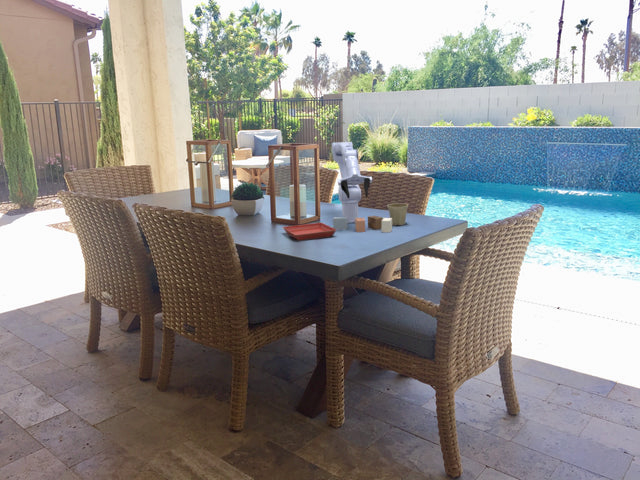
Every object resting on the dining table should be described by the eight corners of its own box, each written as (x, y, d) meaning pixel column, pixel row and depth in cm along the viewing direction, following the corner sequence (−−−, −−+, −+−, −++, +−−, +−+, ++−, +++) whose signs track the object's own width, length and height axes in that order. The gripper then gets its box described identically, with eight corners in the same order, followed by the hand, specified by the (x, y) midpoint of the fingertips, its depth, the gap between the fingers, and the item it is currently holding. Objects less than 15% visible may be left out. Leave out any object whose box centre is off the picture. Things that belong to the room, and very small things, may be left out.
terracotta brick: (355, 229, 228) (355, 218, 227) (363, 228, 229) (363, 217, 227) (357, 232, 223) (356, 220, 221) (365, 231, 223) (365, 220, 222)
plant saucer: (282, 234, 226) (282, 226, 225) (321, 229, 232) (321, 221, 231) (295, 243, 210) (295, 234, 209) (337, 237, 216) (337, 229, 215)
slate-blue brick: (333, 229, 229) (333, 218, 228) (334, 228, 232) (333, 217, 231) (347, 229, 228) (346, 218, 227) (347, 228, 231) (347, 216, 230)
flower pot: (384, 225, 233) (383, 206, 231) (391, 221, 241) (391, 202, 239) (404, 227, 229) (404, 207, 227) (411, 222, 237) (411, 203, 235)
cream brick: (384, 229, 226) (384, 217, 225) (392, 229, 225) (392, 218, 224) (381, 232, 221) (381, 220, 220) (389, 232, 220) (389, 220, 219)
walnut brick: (367, 227, 230) (367, 216, 229) (374, 226, 232) (374, 215, 231) (376, 230, 225) (376, 218, 224) (382, 228, 227) (382, 217, 226)
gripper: (336, 166, 225) (340, 191, 217) (370, 164, 225) (375, 188, 218) (336, 177, 230) (340, 202, 223) (369, 175, 231) (374, 199, 224)
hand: (357, 196), depth 221 cm, fingers open, 7 cm apart
